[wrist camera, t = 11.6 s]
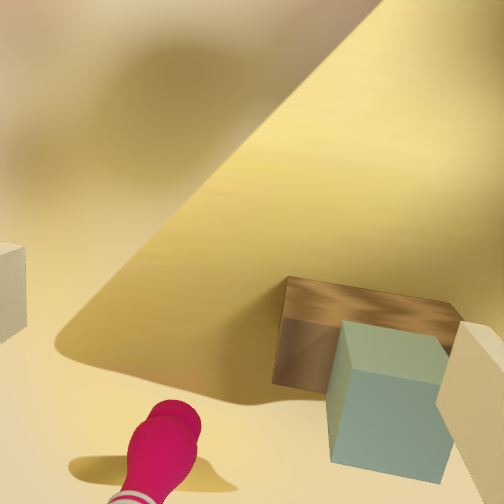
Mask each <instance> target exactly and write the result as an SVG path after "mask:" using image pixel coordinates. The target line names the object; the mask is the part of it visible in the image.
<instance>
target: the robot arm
mask: <svg viewBox="0 0 504 504" xmlns="http://www.w3.org/2000/svg"><path fill="white" fill-rule="evenodd" d="M26 326H27V320H26V264H25V246H24V245H17V244H12V243H6V242H0V344H1V343H3V342H4V341H6V340H7V339H9V338H10V337H11V336H13V335H15V334H16V333H17V332H19V331H20V330H22V329H23V328H25V327H26ZM435 404H436V406H437V408H438V410H439V412H440V414H441V416H442V418H443V420H444V422H445V424H446V426H447V428H448V430H449V432H450V434H451V436H452V438H453V440H454V442H455V444H456V446H457V448H458V450H459V453H460V454H461V457H462V459H463V461H464V463H465V465H466V467H467V469H468V471H469V473H470V475H471V477H472V479H473V481H474V483H475V485H476V487H477V489H478V491H479V493H480V495H481V497H482V499H483V502H484V503H485V504H504V341H503V340H502V339H501V338H500V337H499V336H498V335H497V334H496V333H495V332H494V331H493V330H492V329H491V328H490V327H489V326H487V325H481V324H476V323H470V322H464V321H460V325H459V328H458V331H457V334H456V338H455V341H454V344H453V348H452V351H451V354H450V357H449V361H448V364H447V367H446V370H445V374H444V377H443V380H442V384H441V387H440V390H439V393H438V397H437V400H436V403H435Z"/></svg>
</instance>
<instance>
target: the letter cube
mask: <svg viewBox="0 0 504 504" xmlns="http://www.w3.org/2000/svg"><path fill="white" fill-rule="evenodd" d="M448 361H449V357H448V355H447V354H446V352H445V350H444V349H443V347H442V346H441V344H440V343H439V341H438V340H437V338H436V337H435V336H430V335H424V334H418V333H413V332H407V331H401V330H396V329H390V328H384V327H379V326H373V325H367V324H362V323H356V322H350V321H345V320H342V325H341V329H340V334H339V338H338V343H337V348H336V352H335V357H334V361H333V366H332V371H331V375H330V380H329V384H328V389H327V394H326V409H327V422H328V433H329V447H330V459H331V462H332V463H337V464H342V465H347V466H352V467H357V468H362V469H367V470H372V471H377V472H381V473H386V474H392V475H396V476H401V477H406V478H411V479H416V480H421V481H426V482H431V483H435V484H440V483H441V479H442V476H443V473H444V470H445V467H446V464H447V461H448V458H449V455H450V452H451V449H452V446H453V443H454V440H453V438H452V436H451V434H450V432H449V430H448V428H447V426H446V424H445V422H444V420H443V418H442V416H441V414H440V412H439V410H438V408H437V406H436V404H435V403H436V400H437V397H438V393H439V390H440V387H441V384H442V380H443V377H444V374H445V370H446V367H447V364H448Z"/></svg>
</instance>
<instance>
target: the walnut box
mask: <svg viewBox="0 0 504 504" xmlns="http://www.w3.org/2000/svg"><path fill="white" fill-rule="evenodd" d="M342 320H345V321H350V322H356V323H362V324H367V325H373V326H379V327H384V328H390V329H396V330H401V331H407V332H413V333H418V334H424V335H430V336H435V337H436V338H437V340H438V341H439V343H440V344H441V346H442V347H443V349H444V350H445V352H446V354H447V355H448V357H450V354H451V351H452V348H453V344H454V341H455V338H456V334H457V331H458V328H459V325H460V321H464V322H465V320H464V319H463V318H462V317H461V316H460V315H459V313H458V312H457V311H456V310H455V309H454V308H453V307H452V305H451V304H449V303H443V302H438V301H432V300H426V299H420V298H414V297H408V296H402V295H396V294H390V293H385V292H379V291H373V290H367V289H361V288H355V287H349V286H343V285H337V284H332V283H326V282H320V281H314V280H308V279H302V278H296V277H290V276H288V280H287V286H286V291H285V297H284V303H283V309H282V315H281V321H280V326H279V333H278V341H277V348H276V356H275V363H274V371H273V378H272V384H277V385H282V386H287V387H292V388H298V389H303V390H308V391H313V392H319V393H324V394H327V389H328V384H329V380H330V375H331V371H332V366H333V361H334V357H335V352H336V348H337V343H338V338H339V334H340V329H341V325H342Z"/></svg>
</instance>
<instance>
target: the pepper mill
mask: <svg viewBox="0 0 504 504" xmlns="http://www.w3.org/2000/svg"><path fill="white" fill-rule="evenodd" d="M200 432H201V420H200V417H199V415H198V414H197V412H196V411H195V409H193V408H192V407H191V406H190V405H189V404H187V403H185V402H182V401H179V400H165V401H162V402H160V403H158V404H157V405H155V406H154V407H153V409H152V411H151V412H150V414H149V416H148V418H147V419H146V420H145V421H144V422H142V423H141V424H140V425H139V426H138V427H137V428H136V430H135V431H134V433H133V436H132V438H131V440H130V443H129V446H128V452H127V476H126V480H125V482H124V484H123V487H122V489H121V490H120V492H119V493H117V494H115V495H114V496H112V497H111V498H110V500H109V502H108V504H163V502H164V500H165V499H166V497H167V496H168V494H169V493H170V492H172V491H173V489H175V488H176V487H177V486H178V485H179V484H180V483H181V482H182V481H183V480H184V479H185V478H186V476H187V475H188V474H189V472H190V471H191V469H192V467H193V465H194V462H195V460H196V457H197V441H198V438H199V435H200Z"/></svg>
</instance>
